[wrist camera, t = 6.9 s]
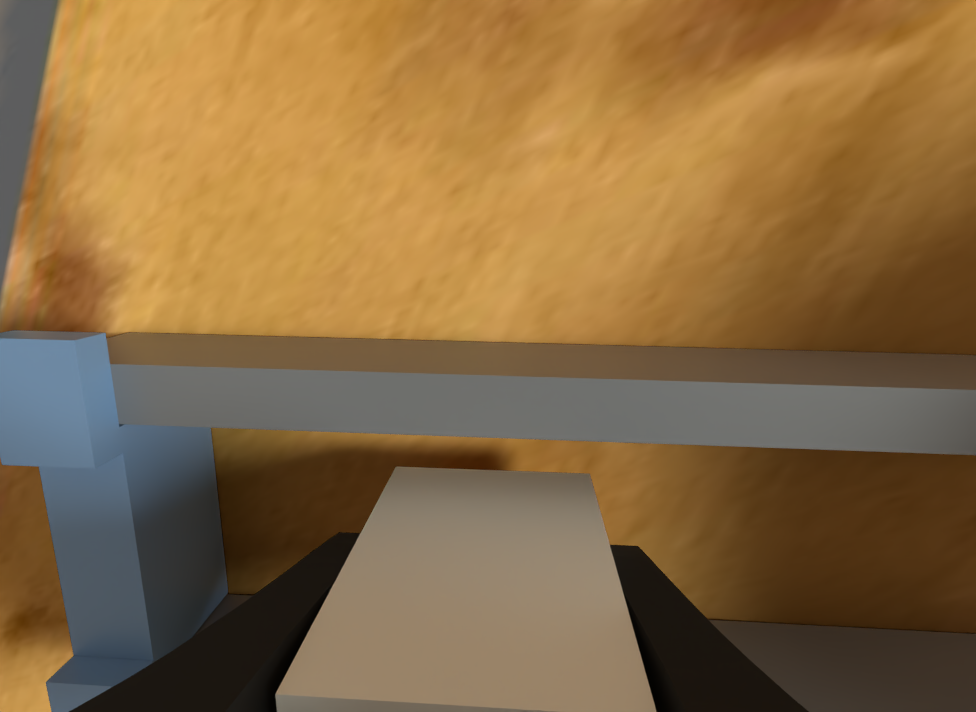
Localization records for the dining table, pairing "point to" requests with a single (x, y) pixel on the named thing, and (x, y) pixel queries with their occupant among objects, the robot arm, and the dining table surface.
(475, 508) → the cream rectangular box
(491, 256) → the dining table surface
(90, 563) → the metal rails
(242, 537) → the dining table surface
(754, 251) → the dining table surface
